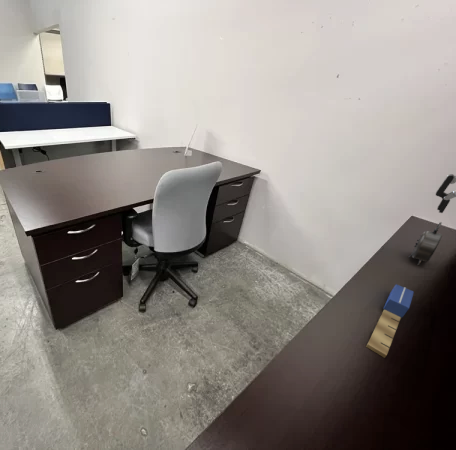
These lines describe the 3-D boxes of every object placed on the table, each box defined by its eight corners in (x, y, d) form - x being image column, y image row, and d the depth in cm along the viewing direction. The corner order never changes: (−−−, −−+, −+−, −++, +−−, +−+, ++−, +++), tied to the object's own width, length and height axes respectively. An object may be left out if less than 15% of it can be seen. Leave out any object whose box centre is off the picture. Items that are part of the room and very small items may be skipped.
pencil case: (390, 293, 74) (396, 283, 73) (407, 300, 71) (414, 290, 70) (383, 308, 67) (390, 298, 65) (402, 317, 64) (409, 307, 62)
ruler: (383, 311, 67) (384, 308, 67) (399, 319, 65) (401, 316, 64) (365, 346, 57) (368, 343, 56) (384, 358, 55) (387, 355, 54)
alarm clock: (423, 269, 86) (451, 229, 79) (403, 261, 90) (428, 223, 82) (427, 258, 93) (453, 221, 85) (408, 252, 96) (431, 215, 89)
